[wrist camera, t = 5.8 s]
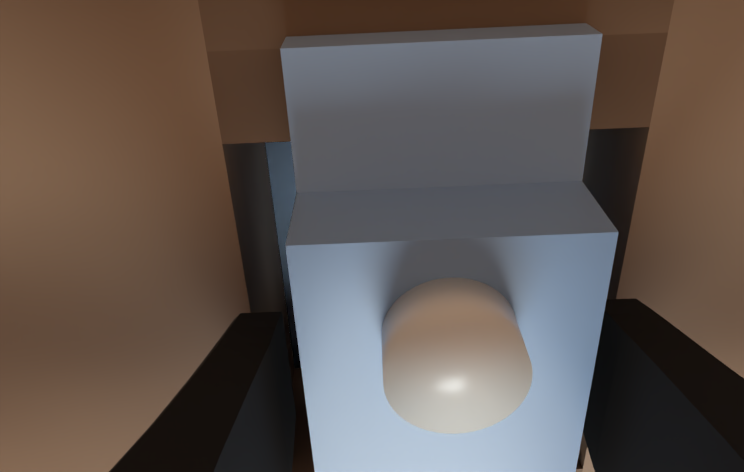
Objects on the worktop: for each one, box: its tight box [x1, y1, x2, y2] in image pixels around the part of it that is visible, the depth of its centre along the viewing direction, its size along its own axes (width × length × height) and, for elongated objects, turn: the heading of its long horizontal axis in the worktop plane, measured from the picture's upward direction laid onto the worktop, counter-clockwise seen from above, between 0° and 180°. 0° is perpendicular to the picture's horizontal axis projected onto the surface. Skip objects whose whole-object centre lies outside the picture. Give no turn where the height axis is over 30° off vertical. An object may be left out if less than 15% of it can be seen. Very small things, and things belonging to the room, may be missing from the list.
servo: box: [280, 23, 619, 472], centre depth 10 cm, size 9×4×6 cm, turn 2°
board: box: [0, 0, 744, 472], centre depth 11 cm, size 12×16×3 cm
